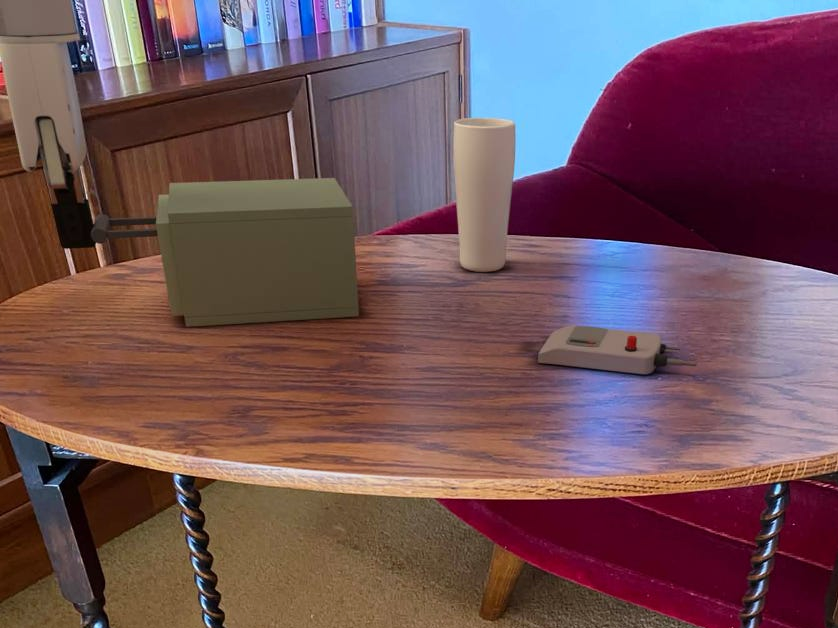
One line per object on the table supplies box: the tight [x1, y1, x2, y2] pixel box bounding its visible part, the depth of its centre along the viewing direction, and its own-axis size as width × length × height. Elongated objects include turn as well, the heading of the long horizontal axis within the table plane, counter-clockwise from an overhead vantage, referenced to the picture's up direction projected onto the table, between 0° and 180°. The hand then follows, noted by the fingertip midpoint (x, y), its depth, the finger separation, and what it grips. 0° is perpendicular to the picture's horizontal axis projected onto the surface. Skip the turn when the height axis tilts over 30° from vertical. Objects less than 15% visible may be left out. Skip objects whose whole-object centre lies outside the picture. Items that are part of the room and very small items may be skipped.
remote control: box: [529, 324, 698, 375], centre depth 86 cm, size 7×16×3 cm, turn 74°
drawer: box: [91, 194, 184, 317], centre depth 96 cm, size 22×13×8 cm, turn 104°
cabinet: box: [168, 177, 360, 328], centre depth 97 cm, size 17×14×10 cm
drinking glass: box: [452, 117, 516, 273], centre depth 107 cm, size 7×7×15 cm
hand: (79, 245), depth 93 cm, fingers closed
